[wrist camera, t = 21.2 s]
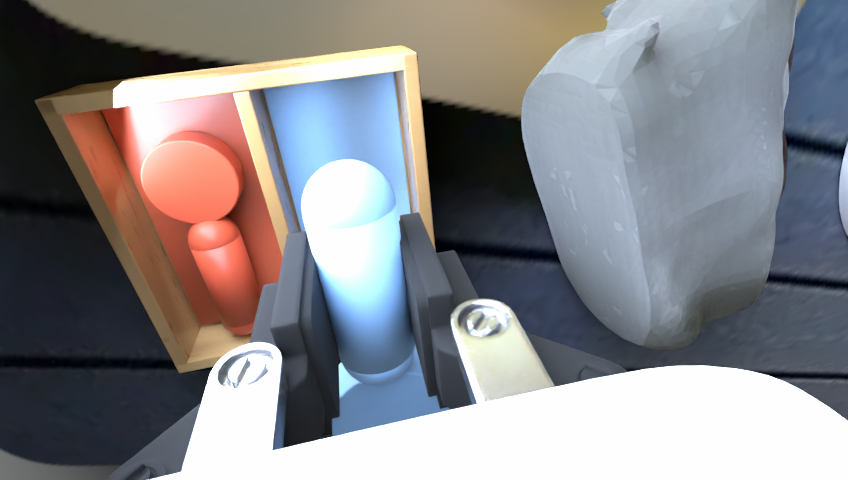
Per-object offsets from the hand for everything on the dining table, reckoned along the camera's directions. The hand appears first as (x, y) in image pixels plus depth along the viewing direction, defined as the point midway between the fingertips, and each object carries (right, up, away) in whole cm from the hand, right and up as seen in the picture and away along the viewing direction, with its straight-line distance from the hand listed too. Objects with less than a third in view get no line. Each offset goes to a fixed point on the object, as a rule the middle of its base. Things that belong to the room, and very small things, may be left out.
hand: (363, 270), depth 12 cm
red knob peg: (-8, +1, +9) cm, 12 cm away
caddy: (-5, +3, +9) cm, 11 cm away
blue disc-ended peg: (0, -1, +1) cm, 2 cm away
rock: (+13, +6, +12) cm, 19 cm away
